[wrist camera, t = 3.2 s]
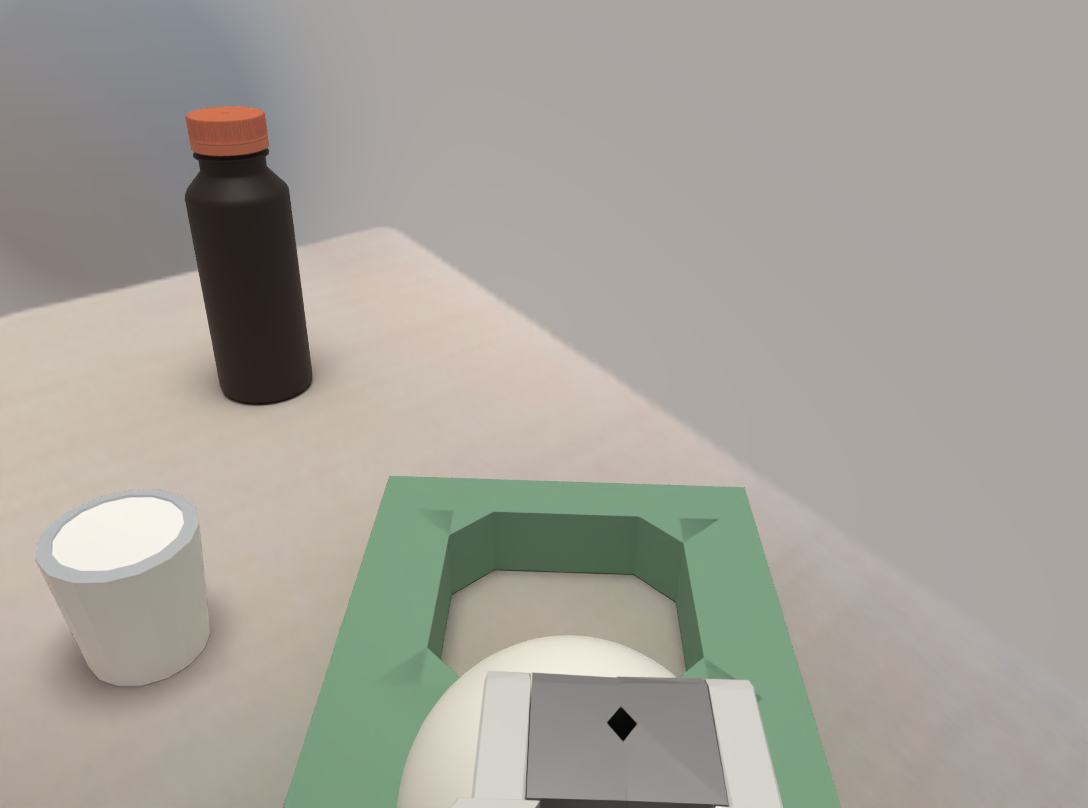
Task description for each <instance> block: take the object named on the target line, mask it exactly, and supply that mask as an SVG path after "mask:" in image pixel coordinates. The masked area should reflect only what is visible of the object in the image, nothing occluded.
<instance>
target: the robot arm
mask: <svg viewBox="0 0 1088 808" xmlns="http://www.w3.org/2000/svg"><path fill="white" fill-rule="evenodd" d="M449 808H783V804H782V800H781V796H780V792H779V788H778V784H777V780H776V776H775V772H774V767H773V763H772V759H771V755H770V751H769V747H768V743H767V739H766V735H765V730H764V726H763V722H762V718H761V714H760V710H759V706H758V702H757V698H756V694H755V689H754V687H753V685H752V684H751V683H750V681H749V680H728V679H705V680H703V679H702V678H662V677H618V676H617V678H616V677H599V676H582V675H566V674H549V673H532V686H531V673H520V672H502V671H488V672H487V675H486V678H485V681H484V688H483V697H482V706H481V715H480V724H479V733H478V742H477V751H476V760H475V769H474V778H473V787H472V796H471V798H457V799H456V800H455V801H454V803H453V804H452V805H451V806H450V807H449Z"/></svg>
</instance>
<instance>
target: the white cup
mask: <svg viewBox="0 0 1088 808" xmlns="http://www.w3.org/2000/svg"><path fill="white" fill-rule="evenodd" d="M36 562H37V564H38V566H39V568H40V570H41V572H42V574H43V576H44V578H45V580H46V582H47V584H48V586H49V588H50V590H51V592H52V594H53V596H54V598H55V600H56V602H57V604H58V606H59V608H60V610H61V612H62V614H63V616H64V618H65V620H66V622H67V624H68V626H69V628H70V630H71V632H72V634H73V636H74V638H75V640H76V642H77V644H78V646H79V648H80V650H81V652H82V654H83V656H84V658H85V660H86V662H87V664H88V666H89V668H90V669H91V670H92V672H93V673H94V674H95V675H96V676H97V678H98V679H99V680H101V681H104V682H107V683H110V684H113V685H116V686H143V685H146V684H150V683H153V682H157V681H160V680H163V679H167V678H169V677H170V676H172V675H174V674H175V673H177V672H179V671H181V670H182V669H184V668H186V667H187V666H189V665H190V664H191V663H192V662H193V661H194V660H195V659H196V658H197V657H198V656H199V654H200V653H201V652H202V651H203V650H204V648H205V646H206V643H207V641H208V638H209V636H210V624H209V615H208V605H207V595H206V585H205V575H204V565H203V556H202V546H201V536H200V526H199V519H198V514H197V509H196V507H195V506H194V505H193V504H192V503H191V502H189V501H188V500H187V499H186V498H185V497H183V496H182V495H178V494H174V493H171V492H167V491H163V490H129V491H124V492H119V493H115V494H110V495H105V496H101V497H99V498H96V499H94V500H92V501H89V502H87V503H85V504H82V505H80V506H77V507H75V508H73V509H72V510H70V511H69V512H67V513H66V514H65V515H63V516H62V517H60V518H59V519H57V520H56V521H55V522H53V523H52V524H50V526H49V527H48V529H47V530H46V531H45V533H44V534H43V535H42V537H41V538H40V540H39V541H38V542H37V550H36Z"/></svg>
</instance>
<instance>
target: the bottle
mask: <svg viewBox="0 0 1088 808" xmlns="http://www.w3.org/2000/svg"><path fill="white" fill-rule="evenodd" d="M186 122H187V128H188V134H189V139H190V145H191V150H193V152H194V154H193V157H194V158H195V159H197V160H199V166H200V172H199V173H198V175H197V176H196V177H195V179H194V180H193V181H192V183H191V184H190V185H189V187H188V189H187V191H186V194H185V202H186V207H187V212H188V218H189V223H190V228H191V234H192V239H193V244H194V249H195V255H196V260H197V266H198V271H199V276H200V281H201V287H202V292H203V297H204V303H205V308H206V313H207V319H208V324H209V329H210V335H211V340H212V345H213V350H214V356H215V361H216V366H217V372H218V377H219V382H220V387H221V388H222V390H223V392H224V393H225V395H227V396H229V397H231V398H232V399H234V400H237V401H241V402H245V403H259V404H261V403H270V402H276V401H280V400H284V399H288V398H290V397H292V396H295V395H297V394H299V393H300V392H301V391H303V390H304V389H305V388H307V387H308V385H309V384H310V382H311V380H312V367H311V359H310V351H309V344H308V336H307V328H306V320H305V312H304V304H303V296H302V288H301V281H300V273H299V265H298V257H297V249H296V241H295V234H294V225H293V217H292V211H291V202H290V194H289V188H288V186H287V184H286V183H285V182H284V181H283V180H282V179H280V178H279V177H278V176H277V175H276V174H275V173H273V172H272V171H271V170H270V169H269V168H268V167H267V165H266V158H265V156H267V155H268V154H269V150H268V148H267V147H268V146H269V142H268V135H267V127H266V119H265V113H264V112H263V111H261V110H259V109H255V108H250V107H235V106H234V107H233V106H230V107H213V108H205V109H200V110H196V111H192V112H190V113H188V114H187V115H186Z"/></svg>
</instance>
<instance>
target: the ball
mask: <svg viewBox="0 0 1088 808" xmlns="http://www.w3.org/2000/svg"><path fill="white" fill-rule="evenodd" d="M488 671H502V672H520V673H531V686H532V673H549V674H566V675H582V676H599V677H616V678H617V676H618V677H662V678H677V677H676V676H674V675H673V674H672V673H671V672H670V671H668V670H667V669H666V668H664V667H663V666H661V665H660V664H658V663H657V662H655V661H654V660H652V659H650V658H648V657H646V656H645V655H643V654H641V653H639V652H637V651H635V650H633V649H631V648H628V647H626V646H624V645H621V644H618V643H615V642H612V641H608V640H604V639H599V638H595V637H587V636H578V635H559V636H547V637H542V638H536V639H532V640H528V641H525V642H521V643H518V644H515V645H513V646H510V647H508V648H505V649H503V650H500V651H498V652H496V653H494V654H492V655H491V656H489V657H487V658H485V659H483V660H482V661H481V662H479V663H478V664H476V665H475V666H473V667H472V668H471V669H469V670H468V671H467V672H466V673H465V674H463V675H462V676H461V677H460V678H459V679H458V680H457V681H456V682H454V683H453V684H452V685H451V686H450V687H449V688H448V690H447V691H446V692H445V693H444V694H443V695H442V696H441V697H440V699H439V700H438V701H437V703H436V704H435V706H434V707H433V708H432V710H431V711H430V713H429V714H428V716H427V717H426V719H425V720H424V722H423V723H422V725H421V727H420V730H419V732H418V734H417V736H416V738H415V740H414V742H413V744H412V747H411V749H410V751H409V754H408V757H407V760H406V763H405V766H404V769H403V774H402V778H401V783H400V788H399V794H398V800H397V808H449V807H450V806H451V805H452V804H453V803H454V801H455V800H456V799H457V798H471V796H472V787H473V778H474V769H475V760H476V751H477V742H478V733H479V724H480V715H481V706H482V697H483V688H484V681H485V678H486V675H487V672H488Z"/></svg>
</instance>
